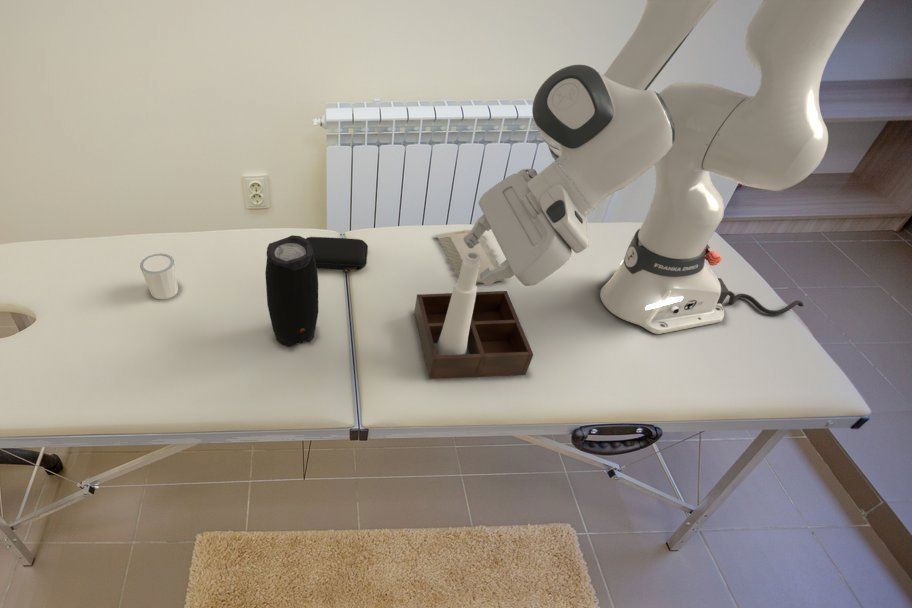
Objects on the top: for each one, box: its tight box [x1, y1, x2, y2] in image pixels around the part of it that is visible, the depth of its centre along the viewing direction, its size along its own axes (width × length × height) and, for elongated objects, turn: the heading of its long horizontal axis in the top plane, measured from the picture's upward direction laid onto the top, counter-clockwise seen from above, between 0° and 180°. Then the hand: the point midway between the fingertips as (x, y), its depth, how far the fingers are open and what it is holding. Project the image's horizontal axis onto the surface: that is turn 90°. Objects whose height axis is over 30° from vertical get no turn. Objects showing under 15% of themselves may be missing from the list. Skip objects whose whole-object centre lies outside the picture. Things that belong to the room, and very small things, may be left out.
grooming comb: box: [436, 229, 505, 284], centre depth 124 cm, size 18×10×1 cm, turn 9°
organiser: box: [413, 290, 534, 380], centre depth 105 cm, size 17×17×5 cm
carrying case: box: [305, 236, 369, 273], centre depth 124 cm, size 11×3×15 cm
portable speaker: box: [264, 235, 319, 348], centre depth 102 cm, size 9×9×20 cm
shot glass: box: [139, 253, 179, 300], centre depth 116 cm, size 7×7×7 cm
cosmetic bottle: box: [435, 252, 480, 356], centre depth 96 cm, size 6×6×22 cm
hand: (474, 261), depth 88 cm, fingers open, 8 cm apart
